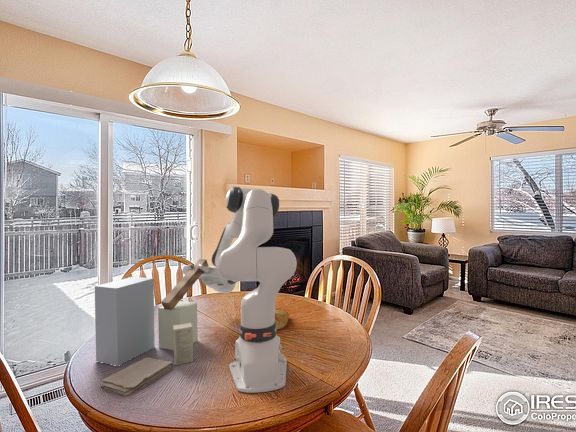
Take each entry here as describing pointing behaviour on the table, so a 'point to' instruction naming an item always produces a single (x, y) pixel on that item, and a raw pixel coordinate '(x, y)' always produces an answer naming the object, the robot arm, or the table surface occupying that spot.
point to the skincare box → (183, 343)
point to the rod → (183, 285)
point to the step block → (176, 322)
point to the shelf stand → (124, 319)
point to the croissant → (281, 318)
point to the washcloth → (136, 376)
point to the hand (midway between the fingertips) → (194, 266)
